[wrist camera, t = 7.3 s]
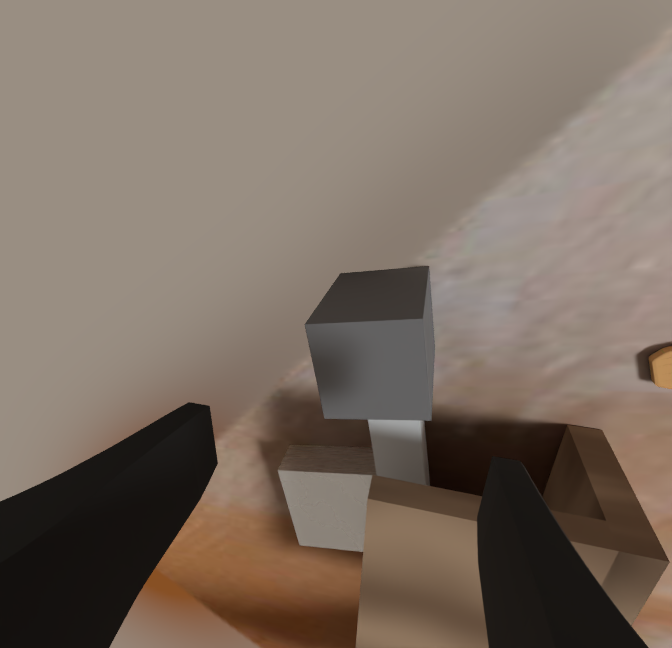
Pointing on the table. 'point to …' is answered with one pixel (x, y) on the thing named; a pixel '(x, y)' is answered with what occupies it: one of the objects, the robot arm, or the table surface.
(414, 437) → the hammer
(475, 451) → the table surface
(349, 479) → the block
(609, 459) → the wooden corner piece
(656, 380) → the popsicle
